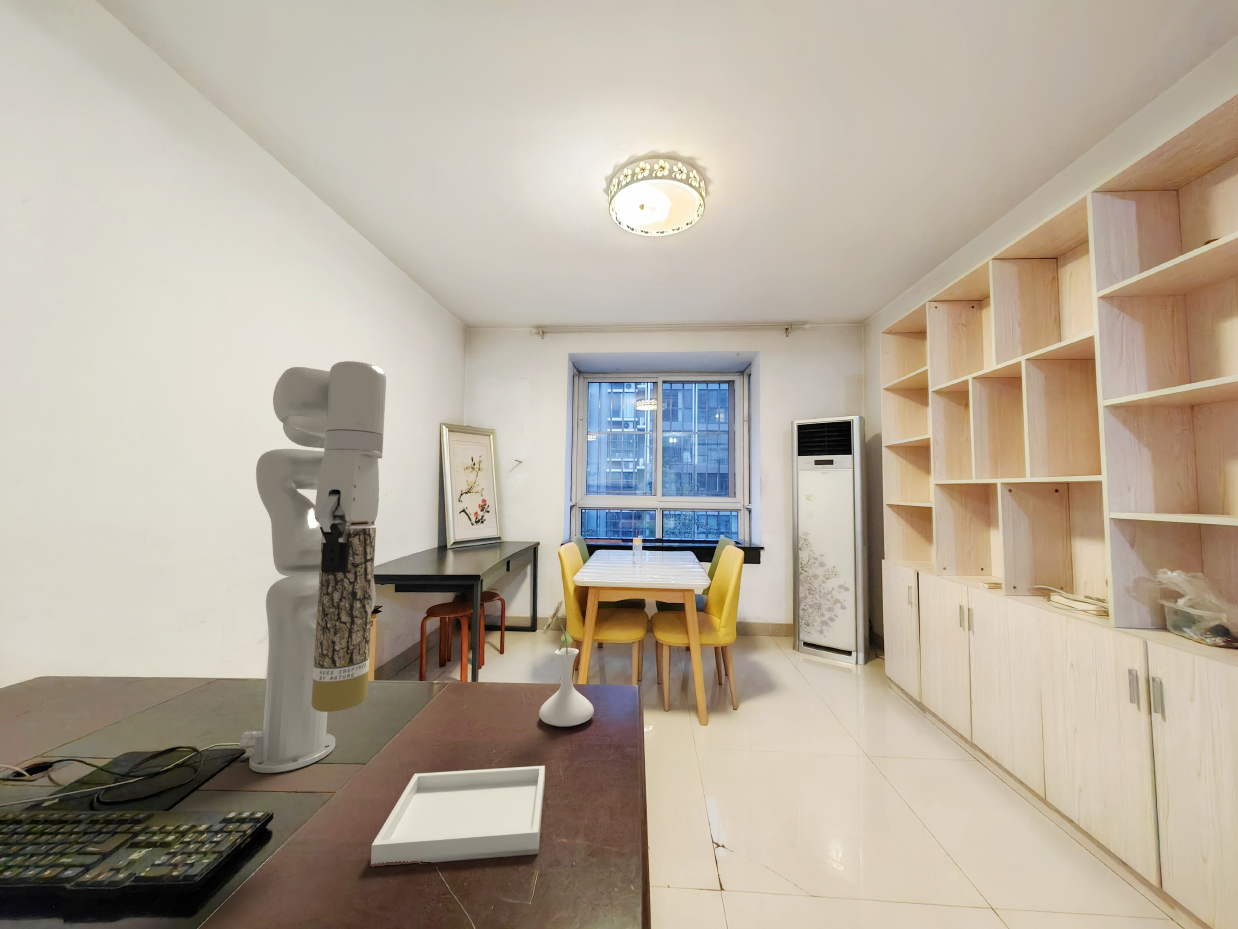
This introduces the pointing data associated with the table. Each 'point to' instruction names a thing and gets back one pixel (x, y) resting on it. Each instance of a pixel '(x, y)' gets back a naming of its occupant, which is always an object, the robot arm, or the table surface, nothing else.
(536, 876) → the table surface
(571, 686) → the flower in vase
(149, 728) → the table surface
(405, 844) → the tray
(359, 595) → the paper tube
